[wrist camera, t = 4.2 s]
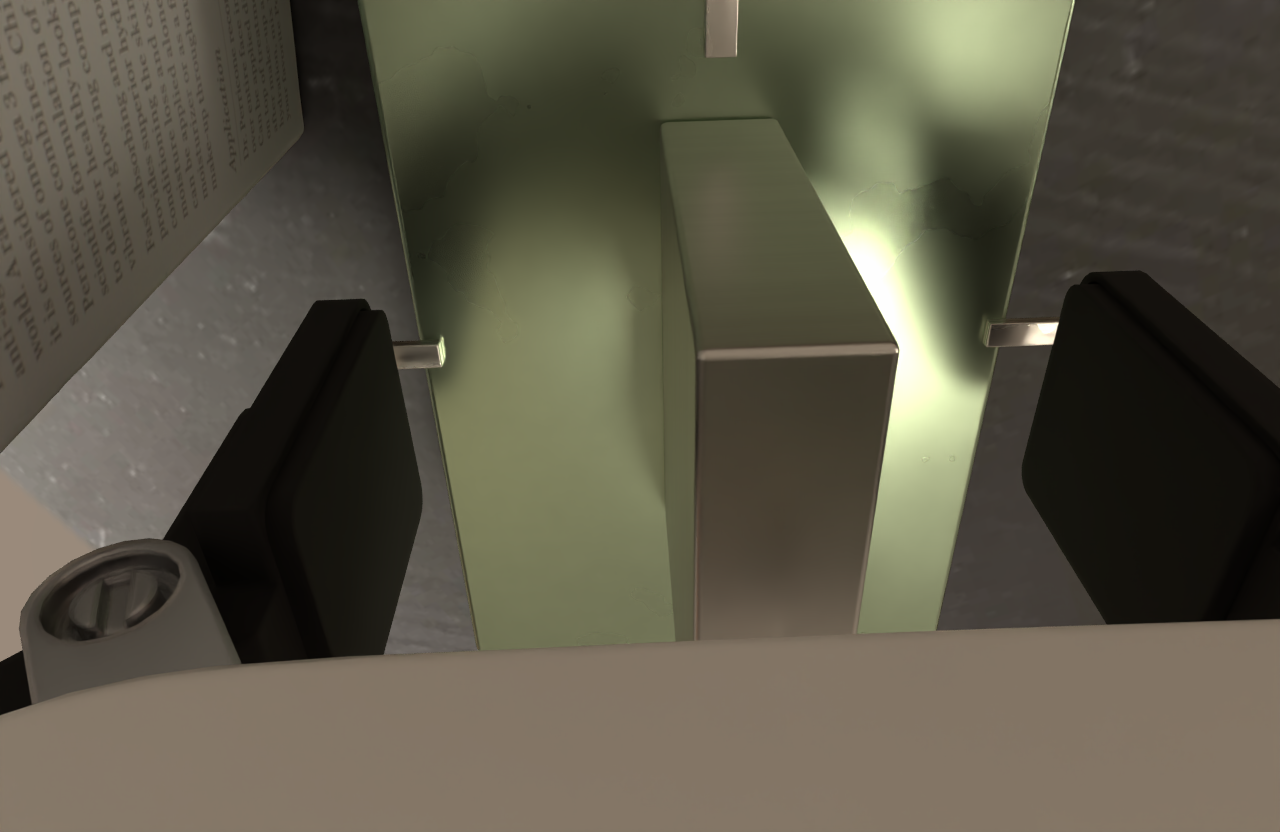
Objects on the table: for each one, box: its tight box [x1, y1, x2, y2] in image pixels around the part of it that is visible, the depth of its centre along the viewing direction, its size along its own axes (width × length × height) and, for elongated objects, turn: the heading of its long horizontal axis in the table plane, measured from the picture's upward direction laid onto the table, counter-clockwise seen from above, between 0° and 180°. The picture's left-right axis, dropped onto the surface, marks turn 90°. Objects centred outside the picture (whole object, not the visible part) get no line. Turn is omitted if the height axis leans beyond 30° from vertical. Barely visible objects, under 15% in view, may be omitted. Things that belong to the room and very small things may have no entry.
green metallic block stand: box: [357, 0, 1076, 651], centre depth 14 cm, size 12×10×4 cm
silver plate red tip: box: [660, 119, 900, 642], centre depth 10 cm, size 6×1×6 cm, turn 2°
